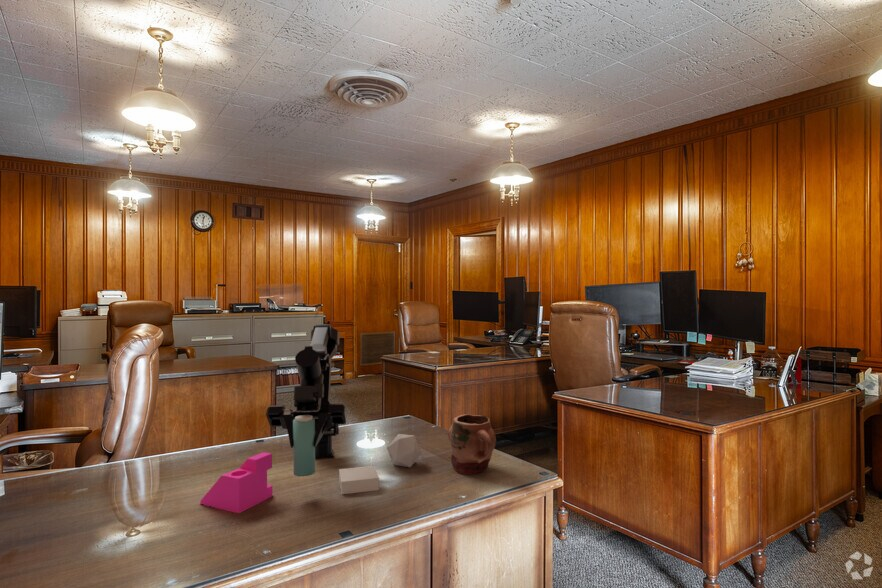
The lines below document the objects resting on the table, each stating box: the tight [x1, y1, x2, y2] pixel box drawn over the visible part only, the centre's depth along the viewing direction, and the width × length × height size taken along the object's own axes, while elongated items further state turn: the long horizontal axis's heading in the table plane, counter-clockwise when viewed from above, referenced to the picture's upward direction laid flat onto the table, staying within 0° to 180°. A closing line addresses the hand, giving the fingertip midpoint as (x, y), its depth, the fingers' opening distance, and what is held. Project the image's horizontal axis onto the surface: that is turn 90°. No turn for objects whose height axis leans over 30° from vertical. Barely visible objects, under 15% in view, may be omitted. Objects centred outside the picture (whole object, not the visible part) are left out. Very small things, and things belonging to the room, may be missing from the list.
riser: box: [338, 465, 380, 495], centre depth 126 cm, size 9×9×3 cm
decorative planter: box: [447, 413, 497, 475], centre depth 136 cm, size 20×12×14 cm, turn 29°
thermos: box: [292, 415, 316, 477], centre depth 120 cm, size 5×5×13 cm
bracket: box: [199, 451, 274, 514], centre depth 118 cm, size 12×10×10 cm
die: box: [386, 433, 422, 468], centre depth 141 cm, size 8×9×10 cm
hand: (303, 446), depth 118 cm, fingers closed on thermos, 5 cm apart
